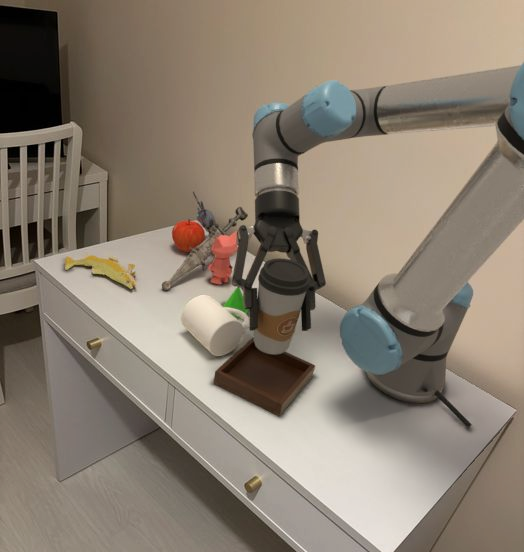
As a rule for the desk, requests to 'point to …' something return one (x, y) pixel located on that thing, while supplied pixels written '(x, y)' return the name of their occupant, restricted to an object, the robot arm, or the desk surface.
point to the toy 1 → (106, 268)
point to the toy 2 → (205, 216)
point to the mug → (214, 324)
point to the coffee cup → (279, 303)
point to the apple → (187, 235)
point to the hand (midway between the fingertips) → (280, 329)
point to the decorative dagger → (204, 249)
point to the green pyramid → (236, 301)
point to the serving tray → (264, 377)
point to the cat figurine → (222, 257)
